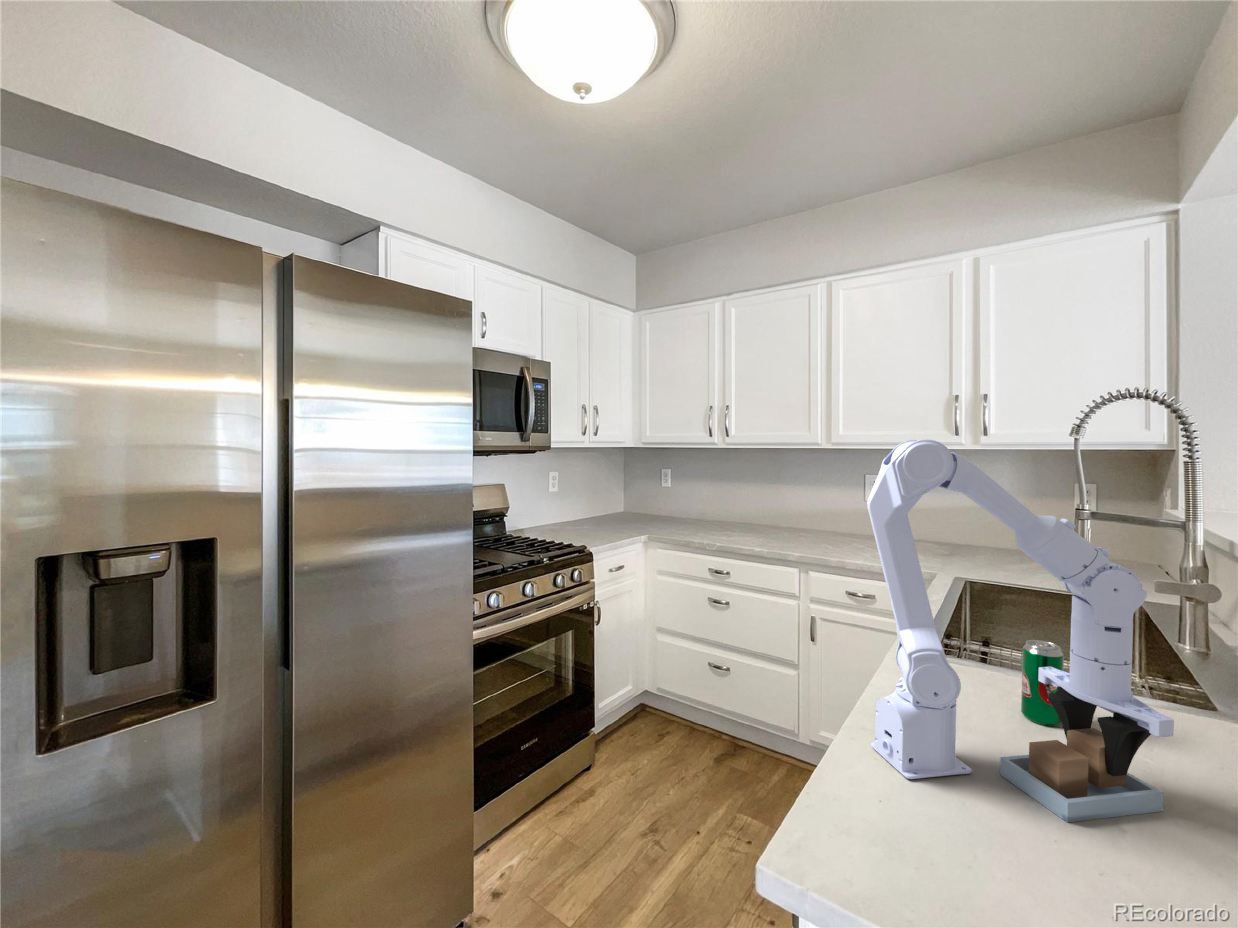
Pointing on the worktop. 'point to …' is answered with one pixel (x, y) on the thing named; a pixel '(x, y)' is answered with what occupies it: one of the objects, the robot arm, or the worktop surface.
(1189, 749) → the worktop surface
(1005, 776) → the tray
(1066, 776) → the walnut block
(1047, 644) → the soda can
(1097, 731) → the walnut block
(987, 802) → the worktop surface
